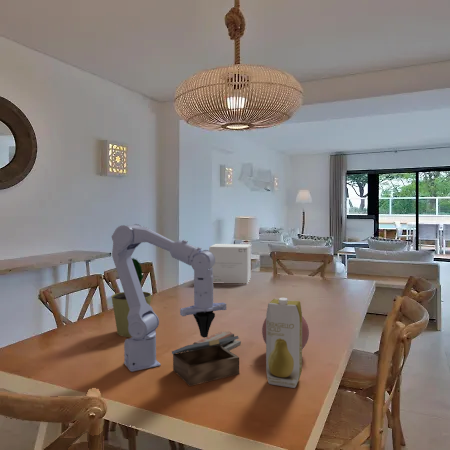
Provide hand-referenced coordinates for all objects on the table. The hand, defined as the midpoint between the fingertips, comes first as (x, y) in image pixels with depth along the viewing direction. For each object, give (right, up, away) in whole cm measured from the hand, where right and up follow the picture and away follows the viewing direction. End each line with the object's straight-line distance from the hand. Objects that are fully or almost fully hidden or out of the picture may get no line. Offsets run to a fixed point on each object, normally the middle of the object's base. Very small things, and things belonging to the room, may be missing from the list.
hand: (204, 336), depth 119 cm
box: (+1, -11, -1) cm, 11 cm away
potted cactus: (-31, -9, +38) cm, 50 cm away
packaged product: (+3, -10, +19) cm, 22 cm away
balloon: (+26, -10, +11) cm, 30 cm away
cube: (+10, -5, +148) cm, 149 cm away
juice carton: (+23, -11, -7) cm, 26 cm away
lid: (+1, -3, -1) cm, 3 cm away
